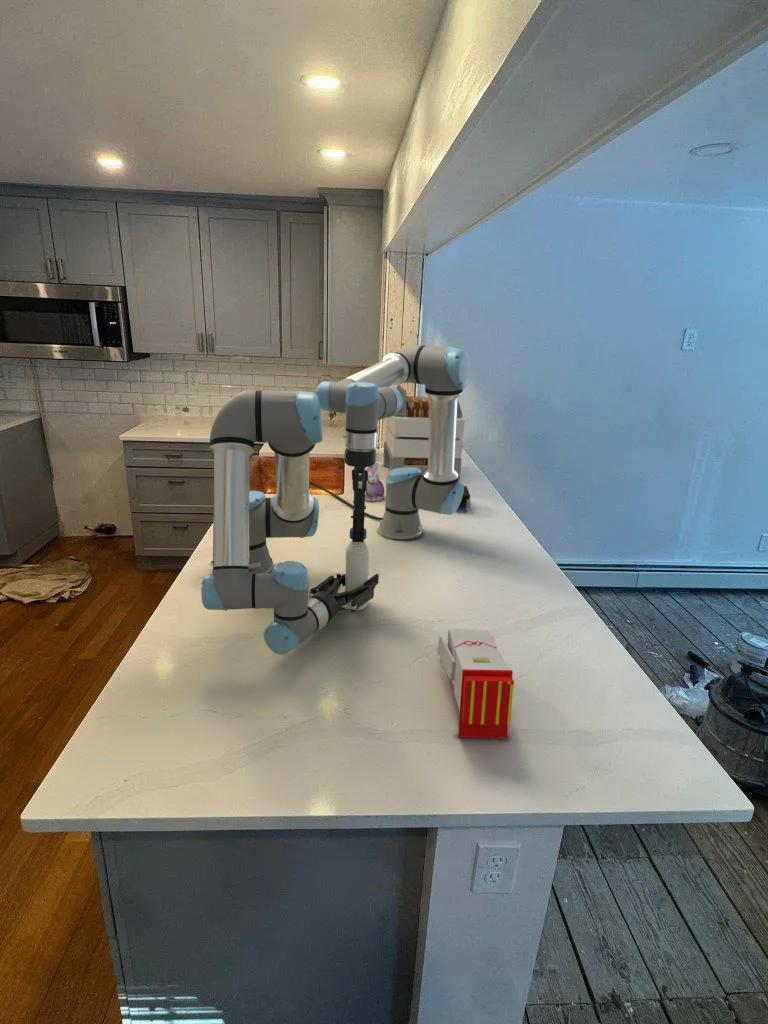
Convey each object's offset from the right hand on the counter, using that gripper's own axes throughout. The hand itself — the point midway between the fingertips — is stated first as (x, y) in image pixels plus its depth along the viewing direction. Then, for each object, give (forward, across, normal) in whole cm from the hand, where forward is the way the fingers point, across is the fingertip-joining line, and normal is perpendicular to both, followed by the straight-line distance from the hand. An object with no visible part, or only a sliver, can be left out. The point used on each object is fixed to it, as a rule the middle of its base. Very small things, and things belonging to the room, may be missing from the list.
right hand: (357, 537), depth 145 cm
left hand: (+13, -4, +3) cm, 14 cm away
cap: (-2, 0, 0) cm, 2 cm away
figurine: (+19, -89, +9) cm, 91 cm away
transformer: (+19, -130, +32) cm, 135 cm away
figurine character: (+19, -80, +43) cm, 93 cm away
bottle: (+19, 0, 0) cm, 19 cm away
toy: (+19, +36, +23) cm, 47 cm away
